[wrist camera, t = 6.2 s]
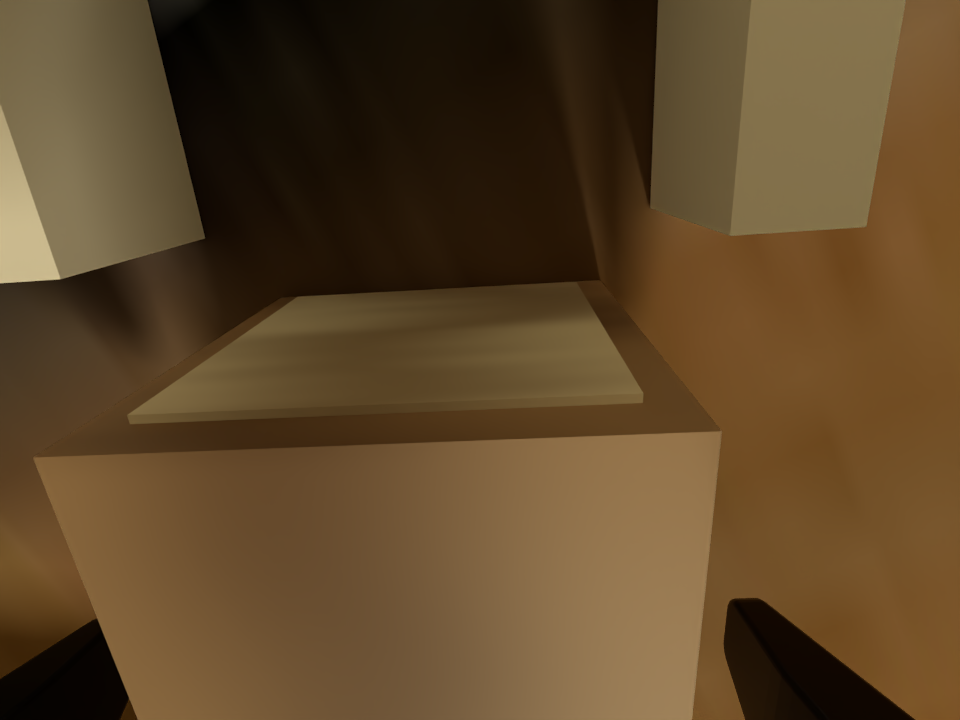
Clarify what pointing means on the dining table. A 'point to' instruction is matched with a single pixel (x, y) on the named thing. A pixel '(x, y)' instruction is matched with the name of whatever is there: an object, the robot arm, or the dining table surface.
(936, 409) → the dining table surface
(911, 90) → the dining table surface
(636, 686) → the tan cardboard carton
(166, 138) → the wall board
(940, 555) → the dining table surface
